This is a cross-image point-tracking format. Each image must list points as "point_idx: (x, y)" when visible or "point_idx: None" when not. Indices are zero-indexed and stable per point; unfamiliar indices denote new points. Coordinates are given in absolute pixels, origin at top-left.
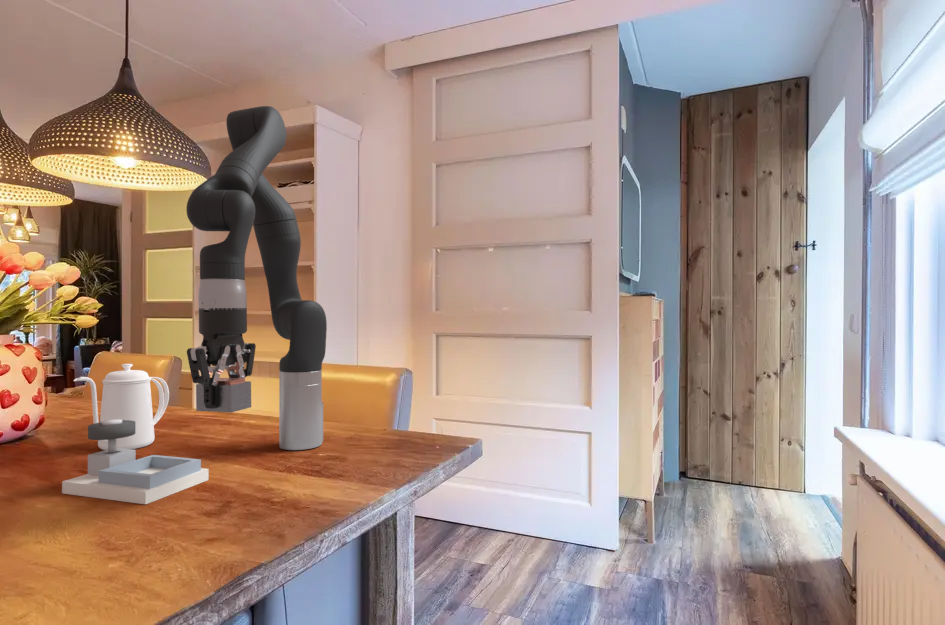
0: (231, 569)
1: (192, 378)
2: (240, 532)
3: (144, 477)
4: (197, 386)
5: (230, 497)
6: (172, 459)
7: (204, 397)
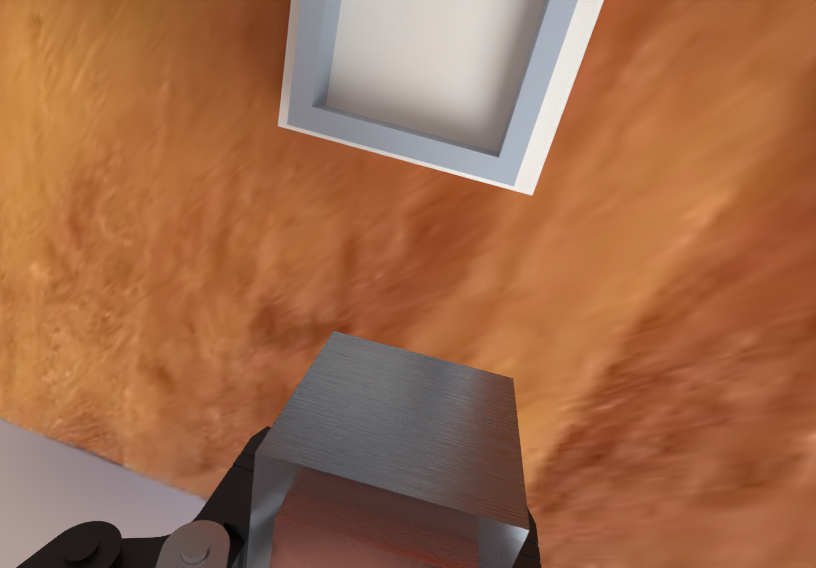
0: (93, 436)
1: (31, 559)
2: (200, 408)
3: (292, 96)
4: (263, 449)
5: (373, 320)
6: (534, 45)
7: (236, 464)
